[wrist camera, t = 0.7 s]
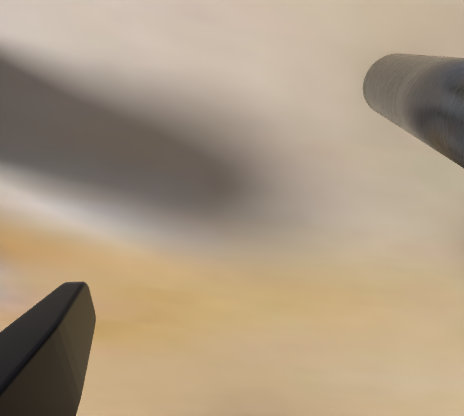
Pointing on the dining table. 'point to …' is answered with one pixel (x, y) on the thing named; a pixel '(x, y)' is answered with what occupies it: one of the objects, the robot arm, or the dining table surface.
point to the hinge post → (421, 98)
